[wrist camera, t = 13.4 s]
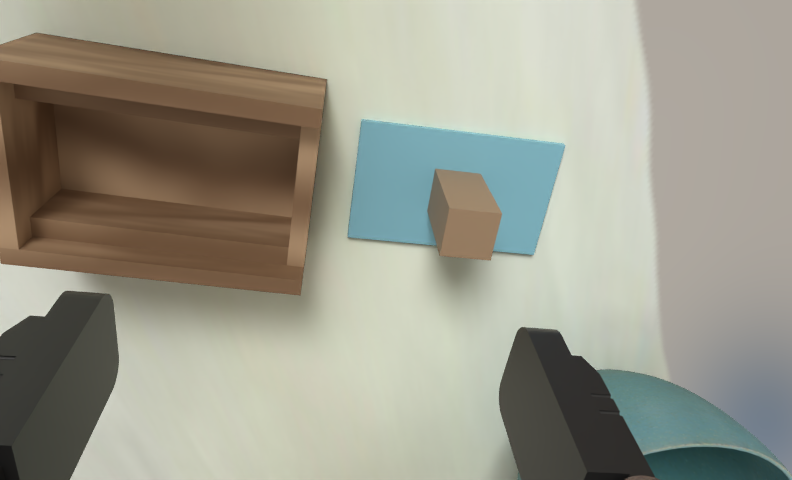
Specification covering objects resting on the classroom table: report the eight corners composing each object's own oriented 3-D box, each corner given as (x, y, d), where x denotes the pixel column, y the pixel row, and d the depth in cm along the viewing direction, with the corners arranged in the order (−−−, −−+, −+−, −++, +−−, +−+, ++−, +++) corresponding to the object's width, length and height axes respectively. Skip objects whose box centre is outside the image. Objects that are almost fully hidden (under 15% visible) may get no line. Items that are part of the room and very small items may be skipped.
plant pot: (615, 503, 55) (681, 644, 44) (445, 452, 50) (472, 596, 39) (746, 362, 48) (863, 490, 37) (563, 287, 43) (635, 409, 32)
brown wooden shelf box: (36, 32, 32) (-32, 55, 26) (326, 79, 34) (322, 109, 29) (54, 211, 37) (0, 263, 31) (307, 242, 39) (300, 295, 34)
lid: (361, 117, 36) (363, 154, 30) (561, 141, 38) (601, 181, 32) (347, 231, 40) (347, 285, 34) (530, 249, 42) (561, 303, 36)
